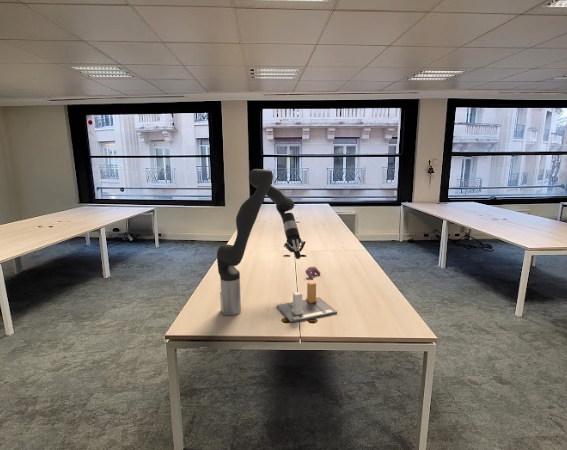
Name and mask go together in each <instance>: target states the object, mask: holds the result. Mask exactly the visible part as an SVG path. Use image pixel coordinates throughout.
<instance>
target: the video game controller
mask: <svg viewBox="0 0 567 450" xmlns="http://www.w3.org/2000/svg"><path fill="white" fill-rule="evenodd" d="M305 275H307V277H308V278H309V279H310V280H313V279H314V276H315V275H317V276H321V271H320V270H318V268H317V267H316V266H309V267H308V268H307V269H305Z"/></svg>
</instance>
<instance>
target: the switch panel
mask: <svg viewBox="0 0 567 450" xmlns="http://www.w3.org/2000/svg"><path fill="white" fill-rule="evenodd" d="M316 300H317V302H313V303H309V302H308V301H307V300H306V299H302V311H303V314H300V315H295V314H294V313H293V312H292V309H293V301H292V302H286V303H280V304H276V308H277V309H278V310H279V311H280V313H281V314H282V315H283V317H284V318H286V319H287V321H288V322H289V323H290V324H294V323H298V322H304V321H308V320H313V319H317V318H322V317H327V316H332V315H337V314H338V311H337V310H336V309H335V308H333V307H332V306H331V305H330V304H328V303H327V302H326V301H325V300H323V298H321V297H319V296H318V297H317V296H316Z"/></svg>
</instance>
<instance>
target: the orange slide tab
mask: <svg viewBox="0 0 567 450" xmlns="http://www.w3.org/2000/svg"><path fill="white" fill-rule="evenodd" d="M306 283H307V285H306V289H307V290H306V291H307V292H306V297H305V300H307V301H308V302H309V303H313V302H317V300H316V298H317V283H316V282H315V281H313V280H312V281H307V282H306Z"/></svg>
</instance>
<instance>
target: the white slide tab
mask: <svg viewBox="0 0 567 450" xmlns="http://www.w3.org/2000/svg"><path fill="white" fill-rule="evenodd" d="M302 300H303V293H302V292H301V291H295V292H292V302H293V309H292V312H293V313H294V314H295V315H300V314H303V311H302Z"/></svg>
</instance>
